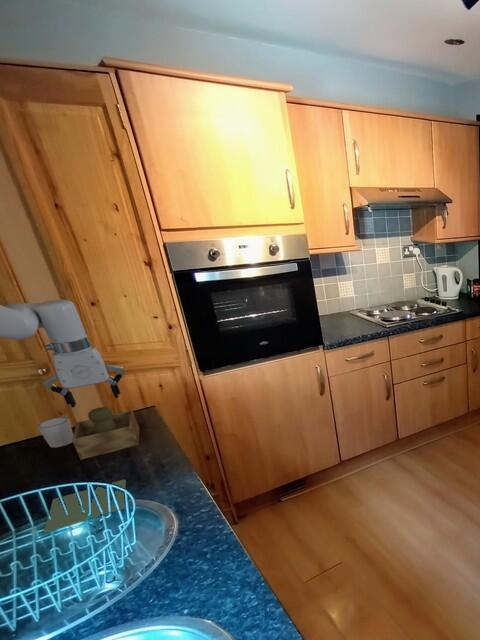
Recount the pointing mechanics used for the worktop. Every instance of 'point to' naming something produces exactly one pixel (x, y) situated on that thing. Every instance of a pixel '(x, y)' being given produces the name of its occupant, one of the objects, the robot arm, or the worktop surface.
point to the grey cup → (56, 431)
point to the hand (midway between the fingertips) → (95, 401)
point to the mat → (75, 510)
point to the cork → (102, 420)
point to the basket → (106, 436)
